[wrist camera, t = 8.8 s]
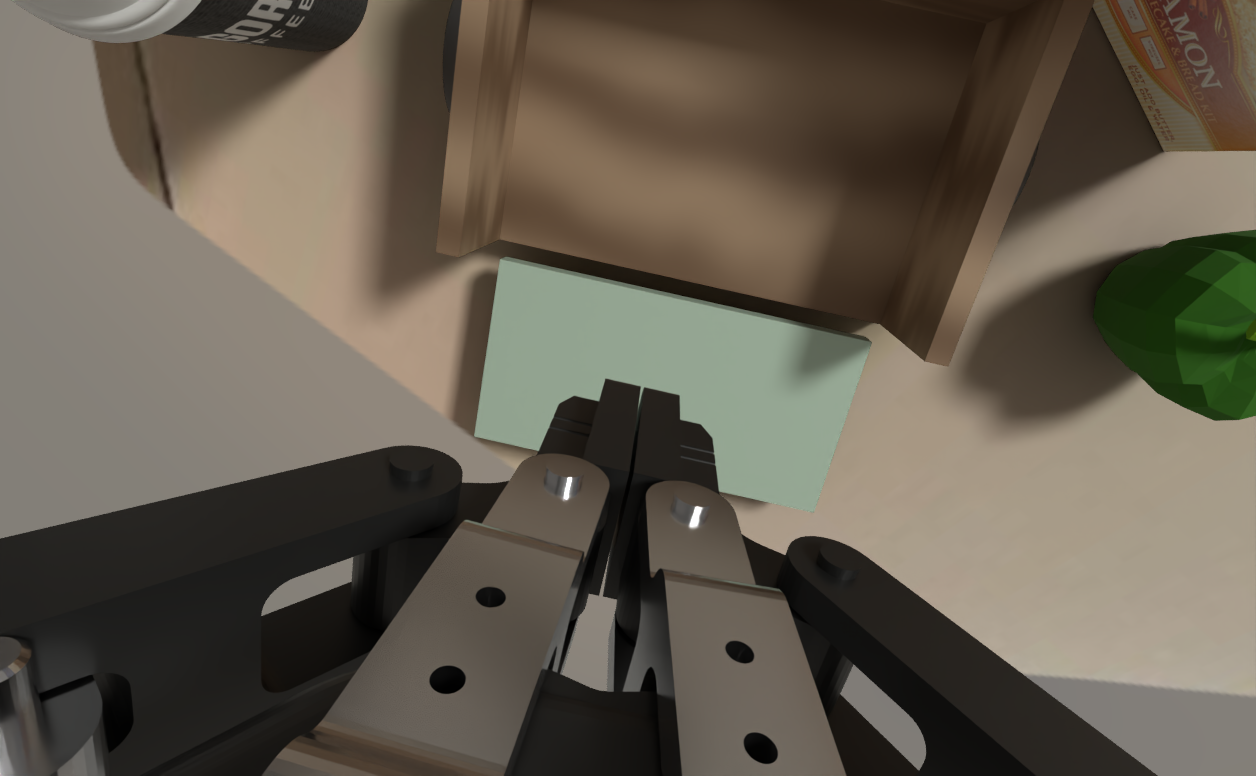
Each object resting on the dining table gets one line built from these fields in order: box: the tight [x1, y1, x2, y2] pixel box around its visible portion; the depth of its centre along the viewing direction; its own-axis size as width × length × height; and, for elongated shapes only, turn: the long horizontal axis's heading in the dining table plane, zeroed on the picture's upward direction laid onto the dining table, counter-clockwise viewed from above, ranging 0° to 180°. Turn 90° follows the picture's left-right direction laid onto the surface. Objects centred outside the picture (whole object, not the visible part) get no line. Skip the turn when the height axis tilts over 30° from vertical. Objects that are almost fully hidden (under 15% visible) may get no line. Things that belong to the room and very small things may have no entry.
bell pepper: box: [1093, 230, 1256, 421], centre depth 30 cm, size 8×8×10 cm
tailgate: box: [474, 257, 872, 513], centre depth 36 cm, size 2×19×10 cm
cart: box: [436, 0, 1095, 366], centre depth 29 cm, size 15×25×9 cm, turn 78°
